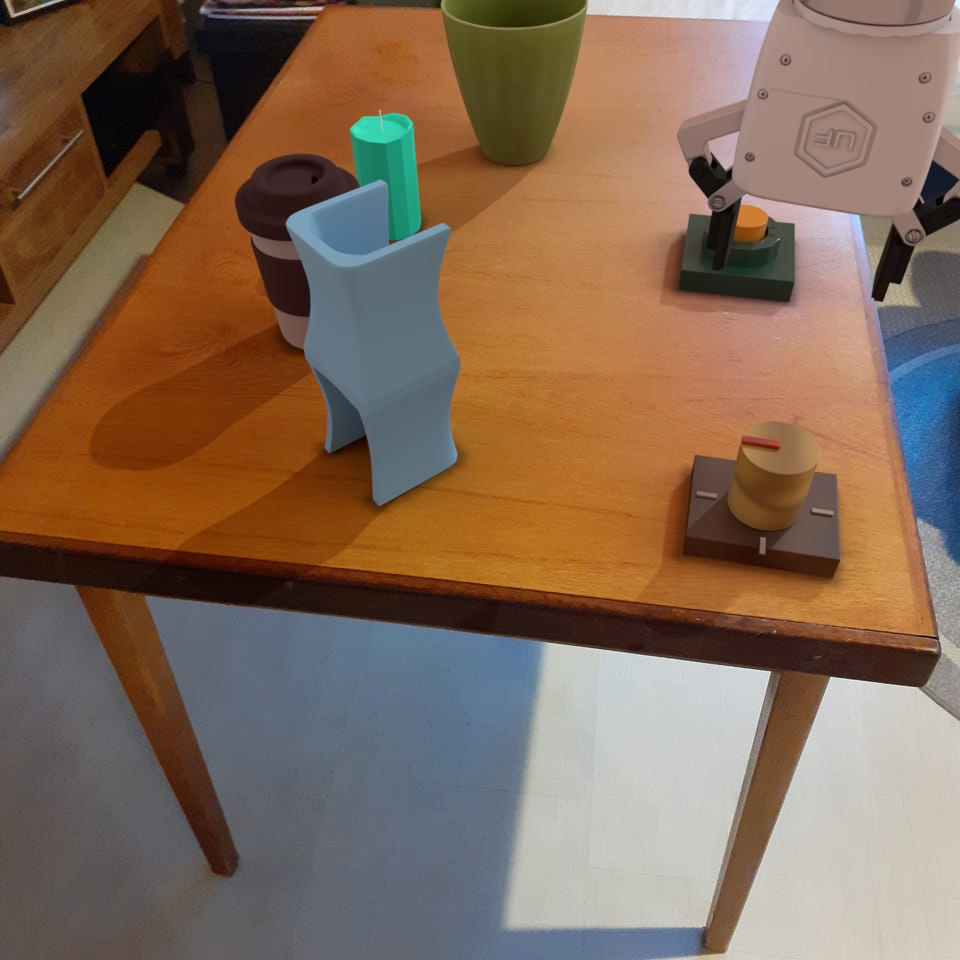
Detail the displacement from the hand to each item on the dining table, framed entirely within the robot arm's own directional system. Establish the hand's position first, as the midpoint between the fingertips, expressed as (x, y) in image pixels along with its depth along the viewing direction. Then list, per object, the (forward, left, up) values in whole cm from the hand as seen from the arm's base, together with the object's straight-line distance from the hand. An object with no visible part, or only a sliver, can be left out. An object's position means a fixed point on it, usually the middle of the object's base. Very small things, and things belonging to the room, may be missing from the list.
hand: (798, 273), depth 58 cm
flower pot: (+28, -45, -17) cm, 56 cm away
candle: (+37, -27, -17) cm, 49 cm away
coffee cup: (+38, -9, -17) cm, 42 cm away
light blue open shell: (+27, +5, -17) cm, 32 cm away
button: (+2, -26, -13) cm, 29 cm away
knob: (-1, +6, -15) cm, 16 cm away
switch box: (+2, -26, -17) cm, 31 cm away
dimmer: (-1, +6, -17) cm, 18 cm away
